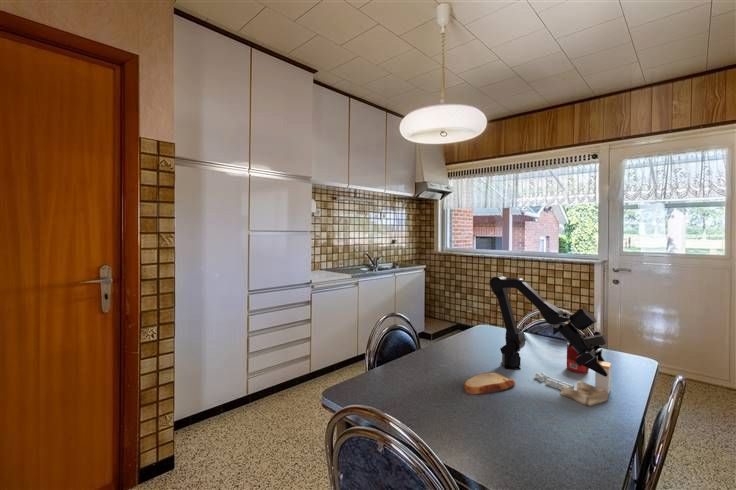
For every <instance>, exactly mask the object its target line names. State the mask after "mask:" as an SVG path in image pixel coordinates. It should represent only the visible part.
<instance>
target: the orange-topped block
mask: <svg viewBox="0 0 736 490" xmlns="http://www.w3.org/2000/svg"><path fill="white" fill-rule="evenodd" d="M598 362H599V363H600V365H601V366H602V367H603V369H604V370H605V372H606V373H607V374H608V375H607V376H606V377H605V376H603V375H601V374H599V373H597V372H595V376H594V377H595V380H594V381H595V383H594V387H597V388H600V389H602V390H605V391H608V395H609V394H610V392H611V390H612V387H611V386H612V362H608V361H605V362H603V361H599V360H598Z"/></svg>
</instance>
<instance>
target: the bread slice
mask: <svg viewBox="0 0 736 490" xmlns="http://www.w3.org/2000/svg"><path fill="white" fill-rule="evenodd" d="M513 386H516V382H515V380H514V379H511V378H508V377H506V376H504V375H502V374H500V373H498V372H487V373H485V372H484V373H480V374H476V375H474V376H472V377H470V378H468V379H467V380H466V381H465V382H464V384H463V390H464V392H465V393H467V394H470V395H480V394H481V395H482V394H488V393H494V392H495V393H496V392H498V391H499V392H500V391H504V390H506V389H509V388H511V387H513Z"/></svg>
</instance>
